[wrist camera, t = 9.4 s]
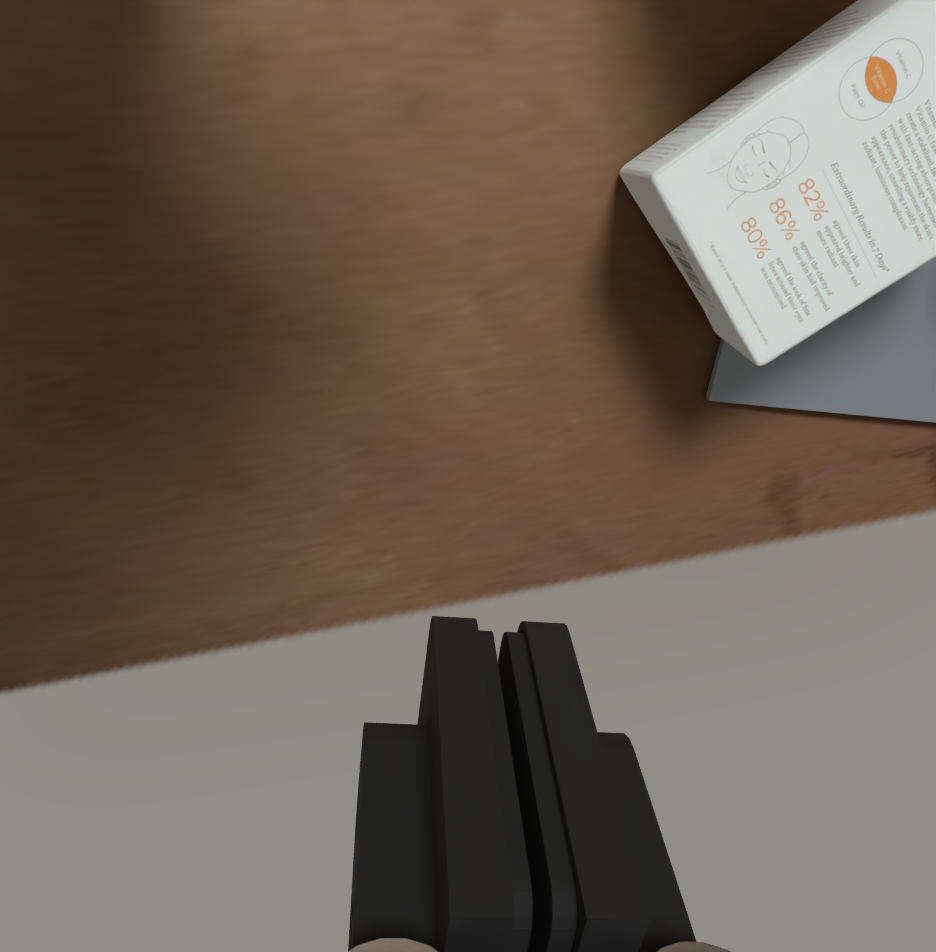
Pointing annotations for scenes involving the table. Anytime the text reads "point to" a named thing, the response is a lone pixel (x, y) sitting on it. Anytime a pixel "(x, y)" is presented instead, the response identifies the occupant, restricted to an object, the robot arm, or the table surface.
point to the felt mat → (850, 360)
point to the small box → (804, 179)
